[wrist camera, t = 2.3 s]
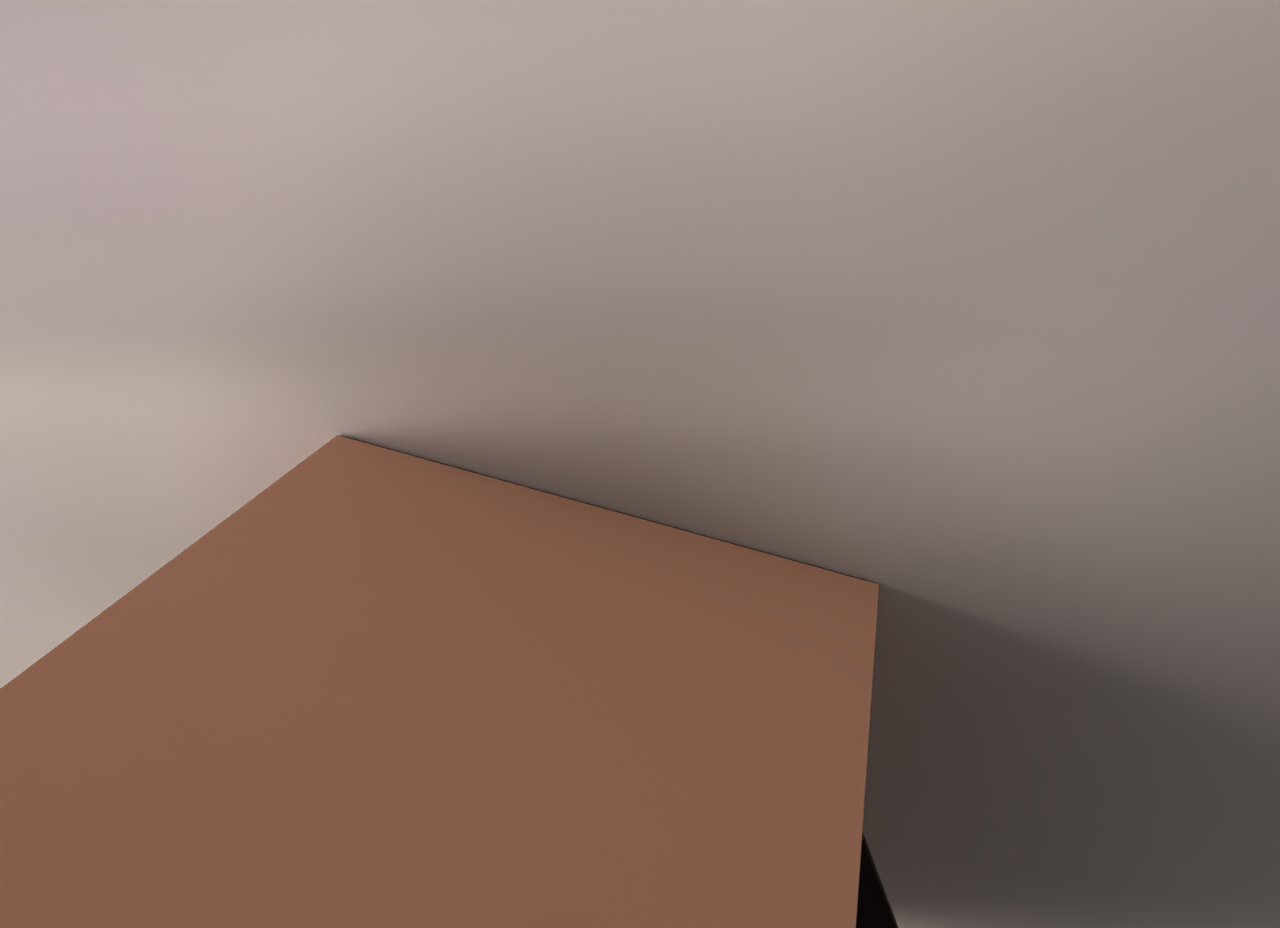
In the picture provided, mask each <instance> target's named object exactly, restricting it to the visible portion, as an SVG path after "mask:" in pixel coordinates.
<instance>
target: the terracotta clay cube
mask: <svg viewBox="0 0 1280 928" xmlns="http://www.w3.org/2000/svg"><path fill="white" fill-rule="evenodd" d="M878 594H879V584H875V583H872V582H868V581H865V580H861V579H857V578H854V577H850V576H846V575H843V574H839V573H836V572H832V571H828V570H825V569H821V568H817V567H814V566H810V565H807V564H803V563H799V562H796V561H792V560H788V559H785V558H781V557H777V556H774V555H770V554H767V553H763V552H759V551H756V550H752V549H748V548H745V547H741V546H738V545H734V544H730V543H727V542H723V541H719V540H716V539H712V538H709V537H705V536H701V535H698V534H694V533H690V532H687V531H683V530H680V529H676V528H672V527H669V526H665V525H661V524H658V523H654V522H650V521H647V520H643V519H640V518H636V517H632V516H629V515H625V514H621V513H618V512H614V511H611V510H607V509H603V508H600V507H596V506H592V505H589V504H585V503H582V502H578V501H574V500H571V499H567V498H563V497H560V496H556V495H553V494H549V493H545V492H542V491H538V490H534V489H531V488H527V487H523V486H520V485H516V484H513V483H509V482H505V481H502V480H498V479H494V478H491V477H487V476H484V475H480V474H476V473H473V472H469V471H465V470H462V469H458V468H455V467H451V466H447V465H444V464H440V463H436V462H433V461H429V460H426V459H422V458H418V457H415V456H411V455H407V454H404V453H400V452H396V451H393V450H389V449H386V448H382V447H378V446H375V445H371V444H367V443H364V442H360V441H357V440H353V439H349V438H346V437H342V436H338V435H337V436H336V437H335V438H333V439H332V440H331V441H329V442H328V443H327V444H325V445H324V446H323V447H321V448H320V449H319V450H317V451H316V452H315V453H313V454H312V455H311V456H309V457H308V458H307V459H305V460H304V461H303V462H301V463H300V464H299V465H297V466H296V467H295V468H293V469H292V470H291V471H289V472H288V473H287V474H285V475H284V476H283V477H281V478H280V479H279V480H277V481H276V482H275V483H273V484H272V485H271V486H269V487H268V488H267V489H265V490H264V491H263V492H262V493H260V494H259V495H258V496H256V497H255V498H254V499H252V500H251V501H250V502H248V503H247V504H246V505H244V506H243V507H242V508H240V509H239V510H238V511H236V512H235V513H234V514H232V515H231V516H230V517H228V518H227V519H226V520H224V521H223V522H222V523H220V524H219V525H218V526H216V527H215V528H214V529H212V530H211V531H210V532H208V533H207V534H206V535H204V536H203V537H202V538H200V539H199V540H198V541H196V542H195V543H194V544H192V545H191V546H190V547H188V548H187V549H186V550H184V551H183V552H182V553H181V554H179V555H178V556H177V557H175V558H174V559H173V560H171V561H170V562H169V563H167V564H166V565H165V566H163V567H162V568H161V569H159V570H158V571H157V572H155V573H154V574H153V575H151V576H150V577H149V578H147V579H146V580H145V581H143V582H142V583H141V584H139V585H138V586H137V587H135V588H134V589H133V590H131V591H130V592H129V593H127V594H126V595H125V596H123V597H122V598H121V599H119V600H118V601H117V602H115V603H114V604H113V605H111V606H110V607H109V608H107V609H106V610H105V611H103V612H102V613H101V614H100V615H98V616H97V617H96V618H94V619H93V620H92V621H90V622H89V623H88V624H86V625H85V626H84V627H82V628H81V629H80V630H78V631H77V632H76V633H74V634H73V635H72V636H70V637H69V638H68V639H66V640H65V641H64V642H62V643H61V644H60V645H58V646H57V647H56V648H54V649H53V650H52V651H50V652H49V653H48V654H46V655H45V656H44V657H42V658H41V659H40V660H38V661H37V662H36V663H34V664H33V665H32V666H30V667H29V668H28V669H26V670H25V671H24V672H22V673H21V674H20V675H18V676H17V677H16V678H15V679H13V680H12V681H11V682H9V683H8V684H7V685H5V686H4V687H3V688H1V689H0V928H856V917H857V902H858V887H859V873H860V858H861V843H862V829H863V814H864V799H865V784H866V770H867V755H868V740H869V726H870V711H871V696H872V682H873V667H874V652H875V638H876V623H877V608H878Z"/></svg>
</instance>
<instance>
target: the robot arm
mask: <svg viewBox="0 0 1280 928" xmlns="http://www.w3.org/2000/svg"><path fill="white" fill-rule="evenodd" d="M856 928H898V926H897V923H896V920H895V918H894V915H893V912H892V910H891V907H890V904H889V902H888V899H887V896H886V894H885V891H884V888H883V885H882V883H881V880H880V877H879V875H878V872H877V869H876V867H875V864H874V861H873V859H872V856H871V853H870V850H869V848H868V845H867V842H866V840H865V837H864V834H863V832H862V843H861V858H860V873H859V887H858V902H857V917H856Z"/></svg>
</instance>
